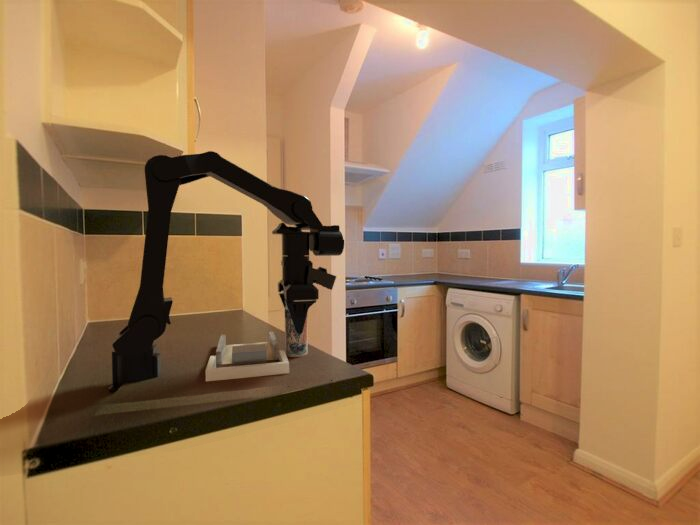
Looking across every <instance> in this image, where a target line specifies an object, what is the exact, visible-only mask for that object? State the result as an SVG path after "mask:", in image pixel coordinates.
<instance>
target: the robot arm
mask: <svg viewBox="0 0 700 525" xmlns="http://www.w3.org/2000/svg"><path fill="white" fill-rule="evenodd" d="M210 177H211V178H213V179H215V180H217V182H218V181H219V182H220V183H222V184H223V185H226V186H227V187H230V188H231V189H234V190H235V191H237V192H239V193H241V194H243V195H245V196H247V197H248V198H251V199H253V201H256V202H257V203H260V204H261V205H263V206H264V207H265V208H266V209H267V210H268V211H269V212H271V214H272V215H273V216H275V217H276V218H278V219H279V220H280V221H281V222H280V223H279V224H278V225H277V226H276V228H274V229H273V230H272V232H271V233H272V235H281V244H282V245H281V250H282V251H281V252H282V253H281V254H282V255H281V256H282V257H281V259H282V260H280V263H281V264H280V265H281V266H282V267H281V268H282V271H281V272H282V273H281V274H282V275H281V276H282V279H281V280H279V282H277V292H278V296H279V298H280V300H281V303H282V306H283V308H284V309H285V307H286V306H287V309H288V311H289V314H290V316H291V319H292V322H293V324H294V327H295V330H296V332H297V334H302V333H303V329H304V324H305V320H306V316H307V317H308V311H309V308H311V306H313V305H314V304H316V303H317V301H318V300H319V297H320V296H319V294H320V293H319V292H320V291H319V288H318V287H317V286H315V285H314V284H316V285H319V286H321V287H323V288H326V289H328V290H331V291H333V287H334V286H335V283H336V279H337V275H334V274H331V273H328V270H327V268H324V267H322V266H318V268H314V267H313V266H314V264H313V262H312V260H310V252H312V253H313V255H314V256H316V257H318V256H319V257H320V256H321V257H323V256H324V257H325V256H326V257H327V256H328V257H329V256H330V257H331V256H333V257H335V256H341V255H342V254H343V252H344V250H345V249H344V248H345V239H344V236H343V233H342V232H341V230H340V225H323V224H322V222H321V221H320V218H319V217H318V216H317V214H316V213H315V212H314V210H313V204H312V202H311V200H310V198H308V197H307V196H305V195H303V194H300V193H297V192H294V191H291V190H288V189H283V188H280V187H276V186H273V185H272V184H270V183H268V182H267V181H264V180H263V179H262V178H259V177H258V176H256V175H255V174H253V173H251V172H249V171H247V170H245V169H243V168H242V167H240V166H239V165H237V164H235V163H233V162H231V161H230V160H228V159H226V158H224V157H223V156H221V155H220V154H219V153H218V152H216V151H214V150H213V151H212V150H209V151H206V152H202V153H195V154H194V153H193V154H182V155H178V156H174V157H170V156H168V155H165V154H158V155H154V156H152V157H151V158H149V159H147V161H146V162H145V166H144V178H145V187H146V197H147V209H148V210H147V218H146V224H145V225H146V227H145V228H146V229H145V238H144V245H143V255H142V262H141V263H142V264H141V271H140V273H141V274H140V284H139V288H138V291H137V295H136V297H135V300H134V303H133V307H132V310H131V312H130V316H129V320H128V322H127V324H126V326H125V327H124V328H122V330H120V331H119V332H118V333H117V335H116V337H115V338H114V341H113V343H112V347H113V350H112V351H111V373H112V374H111V376H112V380H111V382H112V384H111V385H110V386H109V387H108V391H109V392H114V391H116V392H117V391H119V389H120V388H122V386H123V385H124V384H129V383H132V384H133V383H138V382H142V381H146V380H150V379H154V378H155V379H156V378H159V376H160V375H161V374H162V368H161V367H162V363H161V361H162V358H161V356H162V355H161V353H160V352H158V344H153V343H154V342H155V341H156V340H158V339H159V338H160V337H161V336H162V335H164V333H165V332H166V329H167V328H166V327H167V325H171V323H172V320H171V316H170V313H171V310H172V306H173V302H174V301H173V298H172V297H165V295H164V294H165V293H164V281H165V279H164V278H165V271H166V262H167V253H168V244H169V234H170V224H171V215H172V210H173V207H174V205H175V201H176V199H177V198H176V197H177V194H178V191H179V187H180V186H182V185H186V184H190V183H193V182H196V181H199V180H202V179H205V178H210ZM286 224H287V225H289V226H287V225H286Z"/></svg>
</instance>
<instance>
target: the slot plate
mask: <svg viewBox="0 0 700 525" xmlns="http://www.w3.org/2000/svg"><path fill="white" fill-rule="evenodd" d="M268 334H269V335H268V341H264V342H254V343H253V342H251V343H237V344H235V343H234V344H227V343H226V342H227V339H226V334H221V335H220V337H219V340H218V343H217V344H218V345H217V346H216V350H215V355H216V366H217V365H218V366H220V365H228V364H229V365H230V364H231V365H232V346H242V345H254V344H265V347H266V350H267V361H276V360H277V361H278V360H279V350H280V346H279V344H278V341H277V338H276V334H275V332H274V331H269V332H268Z"/></svg>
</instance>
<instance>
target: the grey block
mask: <svg viewBox="0 0 700 525" xmlns="http://www.w3.org/2000/svg"><path fill="white" fill-rule="evenodd" d="M267 361H268V360H267V350H266V347H265V344H254V345H242V346H232V364H231V366H243V365H254V364H265V363H268V362H267Z"/></svg>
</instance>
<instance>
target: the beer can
mask: <svg viewBox="0 0 700 525" xmlns="http://www.w3.org/2000/svg"><path fill="white" fill-rule="evenodd" d="M308 337H309V336H308V315H307V316H306V320H305V324H304V329H303V333H302V334H297V332H296V330H295V327H294V324H293V322H292V319H291V316H290V314H289V311H288V309H287V306H286V307H285V308H284V351H285V354H286V356H287V357H288V358H289V357H290V358H298V357H299V358H300V357H305V356H307V355H308V341H309V340H308Z"/></svg>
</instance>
